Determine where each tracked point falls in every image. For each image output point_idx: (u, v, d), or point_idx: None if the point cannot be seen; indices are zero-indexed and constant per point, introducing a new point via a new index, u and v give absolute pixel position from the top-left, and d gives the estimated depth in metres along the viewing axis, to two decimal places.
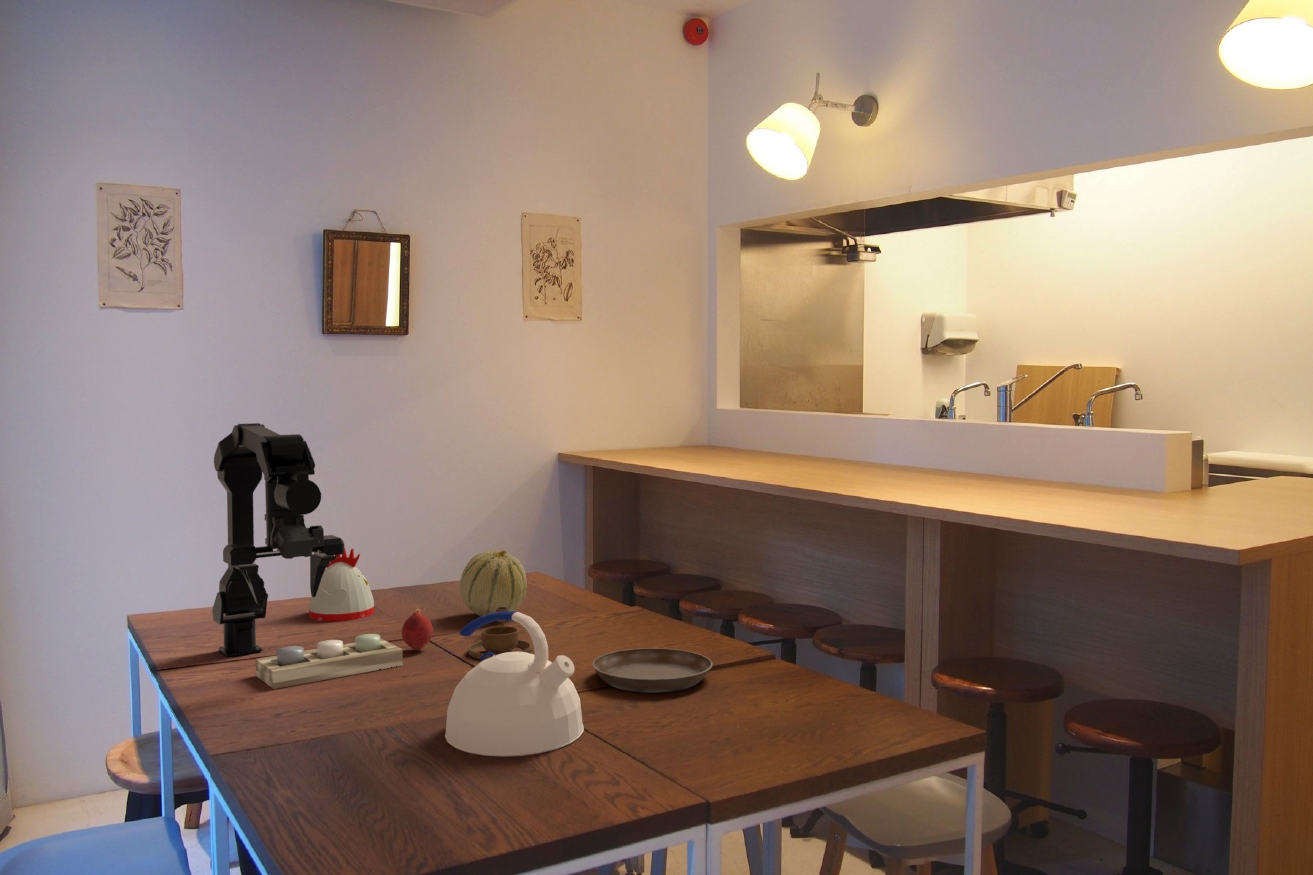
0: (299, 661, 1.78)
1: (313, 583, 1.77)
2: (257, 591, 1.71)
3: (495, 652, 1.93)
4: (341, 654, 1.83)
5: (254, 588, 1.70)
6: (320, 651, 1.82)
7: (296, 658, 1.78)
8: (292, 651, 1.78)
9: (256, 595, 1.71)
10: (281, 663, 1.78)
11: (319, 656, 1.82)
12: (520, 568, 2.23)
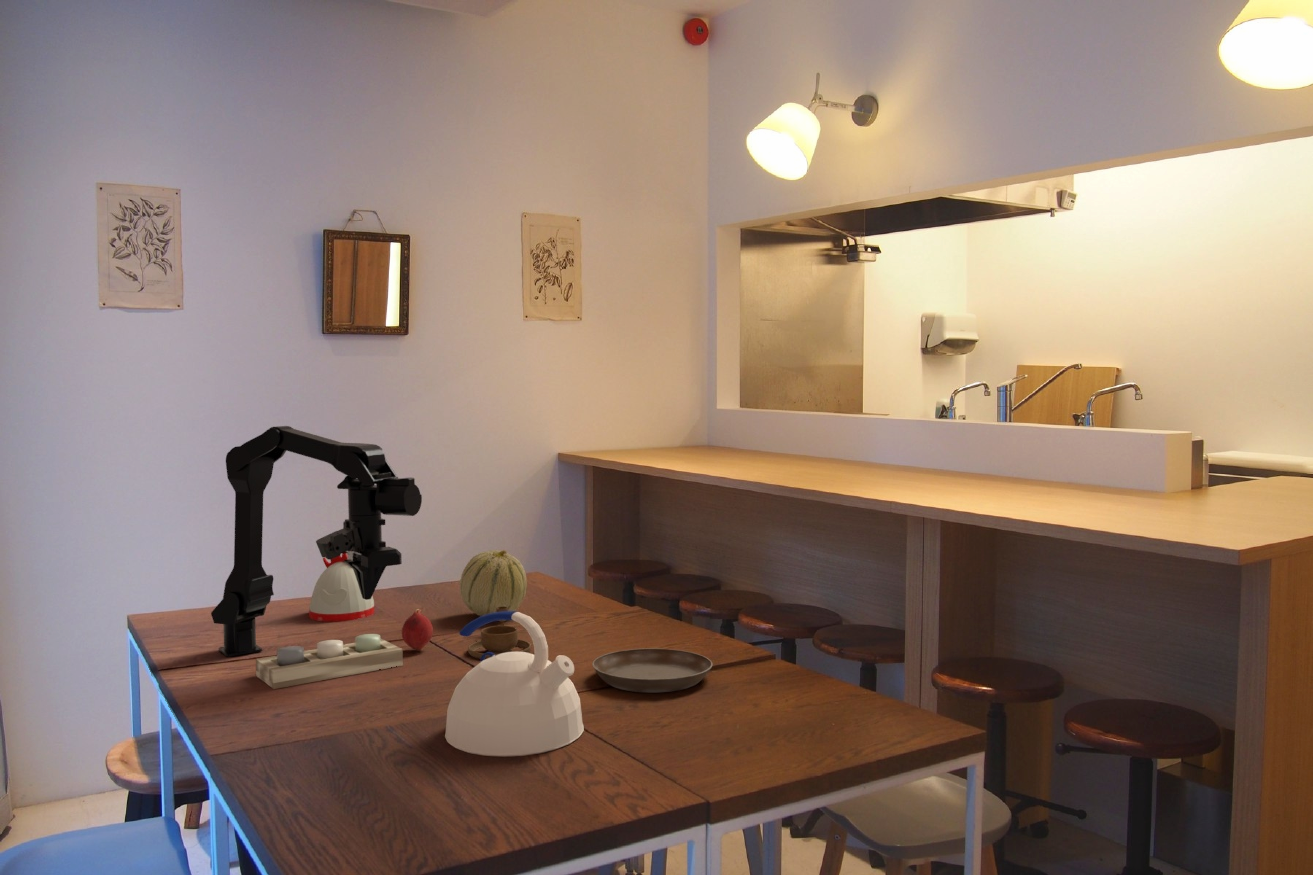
0: (299, 661, 1.78)
1: None
2: (359, 586, 1.87)
3: (494, 651, 1.94)
4: (341, 654, 1.83)
5: (358, 583, 1.88)
6: (320, 651, 1.82)
7: (296, 658, 1.78)
8: (292, 651, 1.78)
9: (360, 589, 1.88)
10: (281, 663, 1.78)
11: (319, 656, 1.82)
12: (520, 568, 2.23)
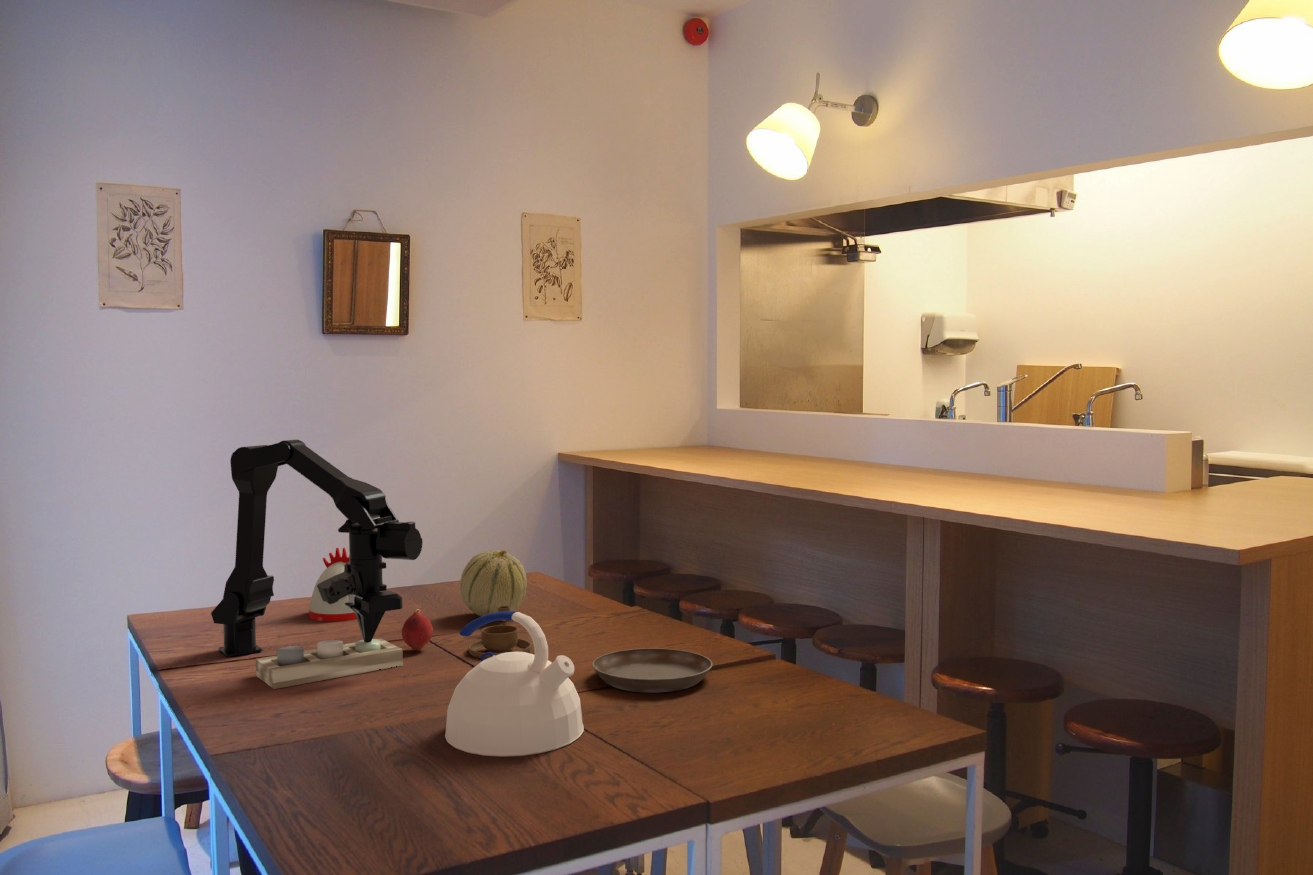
0: (299, 661, 1.78)
1: None
2: (361, 629, 1.88)
3: (495, 651, 1.94)
4: (341, 654, 1.83)
5: (359, 626, 1.88)
6: (320, 651, 1.82)
7: (296, 658, 1.78)
8: (292, 651, 1.78)
9: None
10: (281, 663, 1.78)
11: (319, 656, 1.82)
12: (520, 568, 2.23)
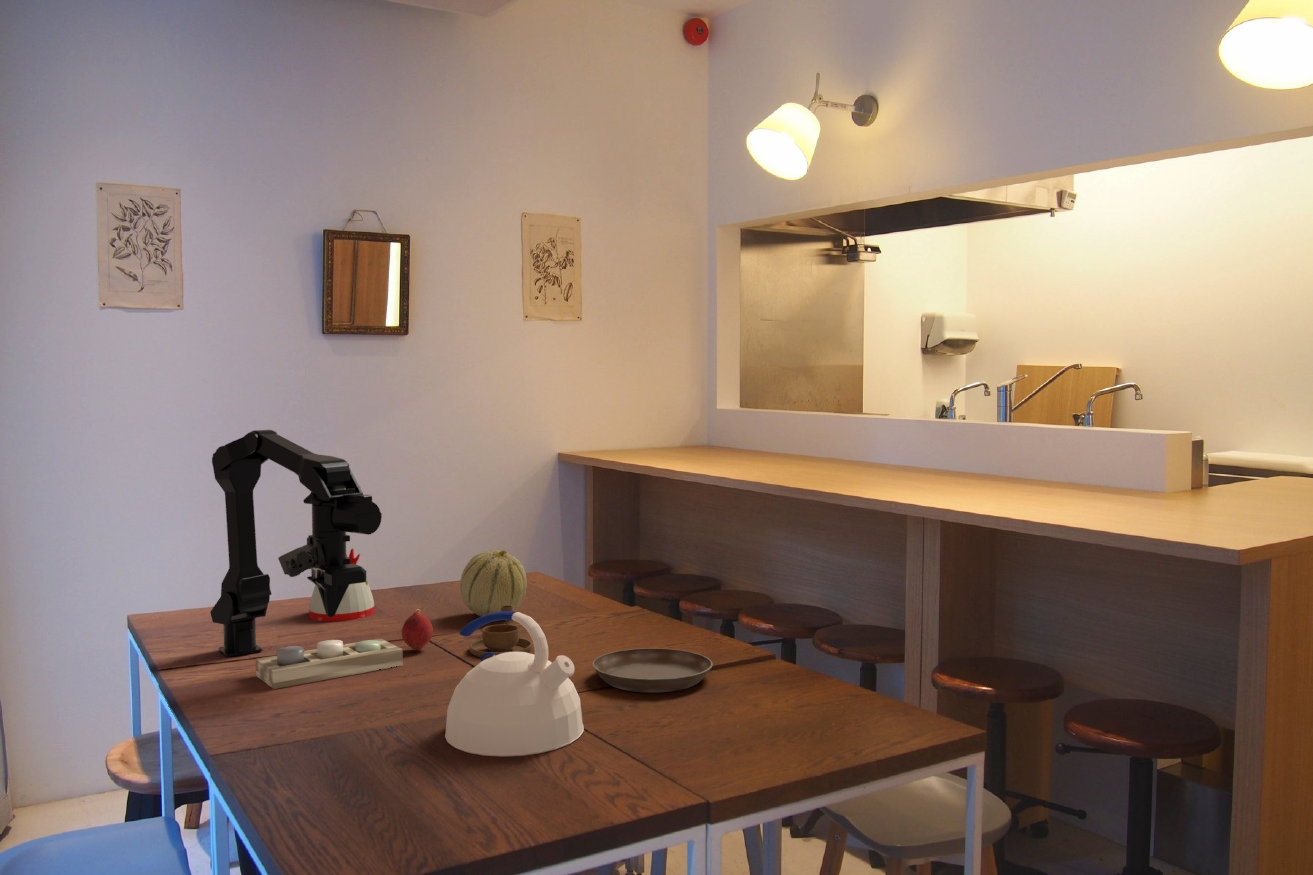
0: (299, 661, 1.78)
1: None
2: (324, 604, 1.83)
3: (495, 650, 1.95)
4: (341, 654, 1.83)
5: (322, 600, 1.84)
6: (320, 651, 1.82)
7: (296, 658, 1.78)
8: (292, 651, 1.78)
9: (324, 607, 1.84)
10: (281, 663, 1.78)
11: (319, 656, 1.82)
12: (520, 568, 2.23)
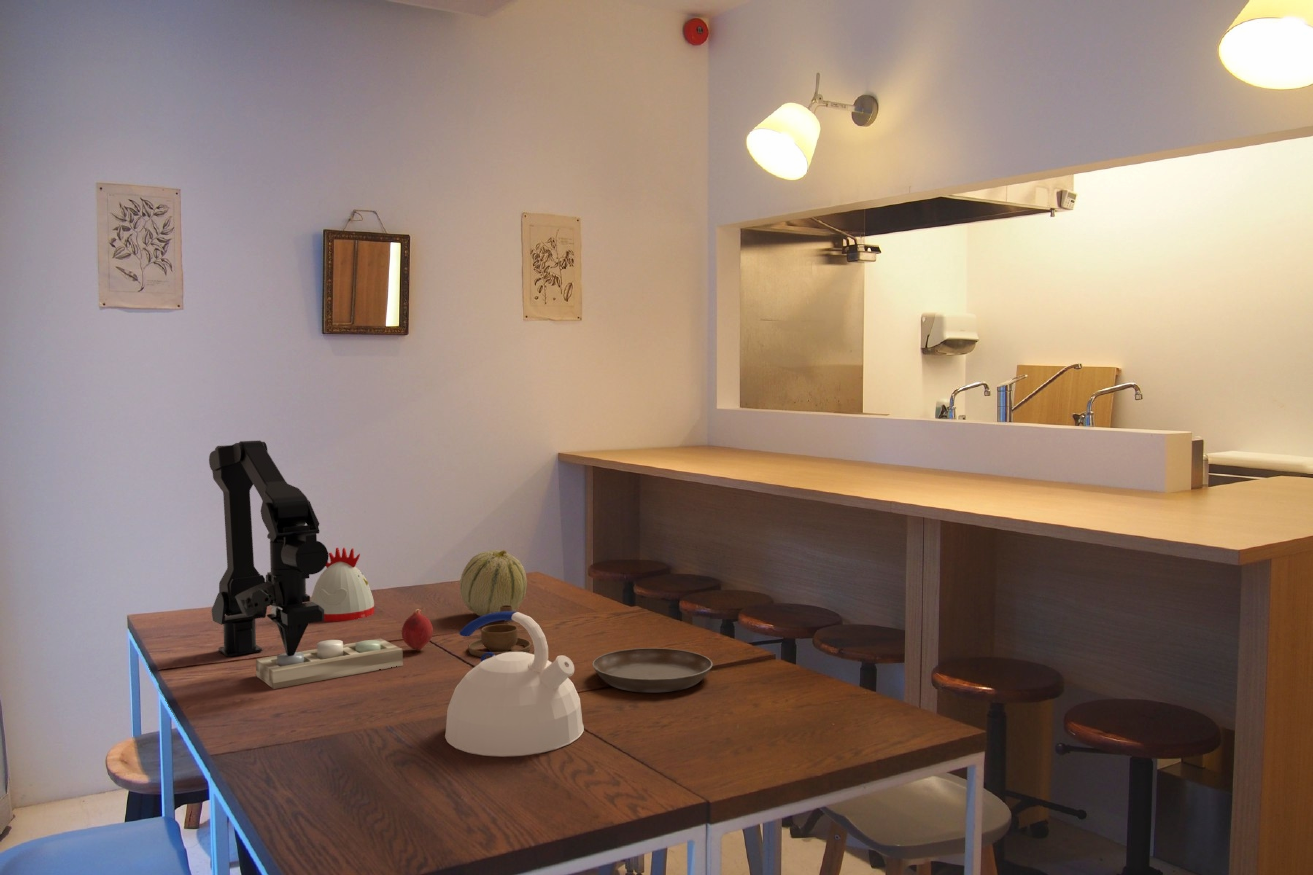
0: None
1: None
2: (283, 642, 1.79)
3: (494, 650, 1.95)
4: (341, 654, 1.83)
5: None
6: (320, 651, 1.82)
7: None
8: (292, 657, 1.78)
9: (284, 646, 1.79)
10: None
11: (319, 656, 1.82)
12: (520, 568, 2.23)
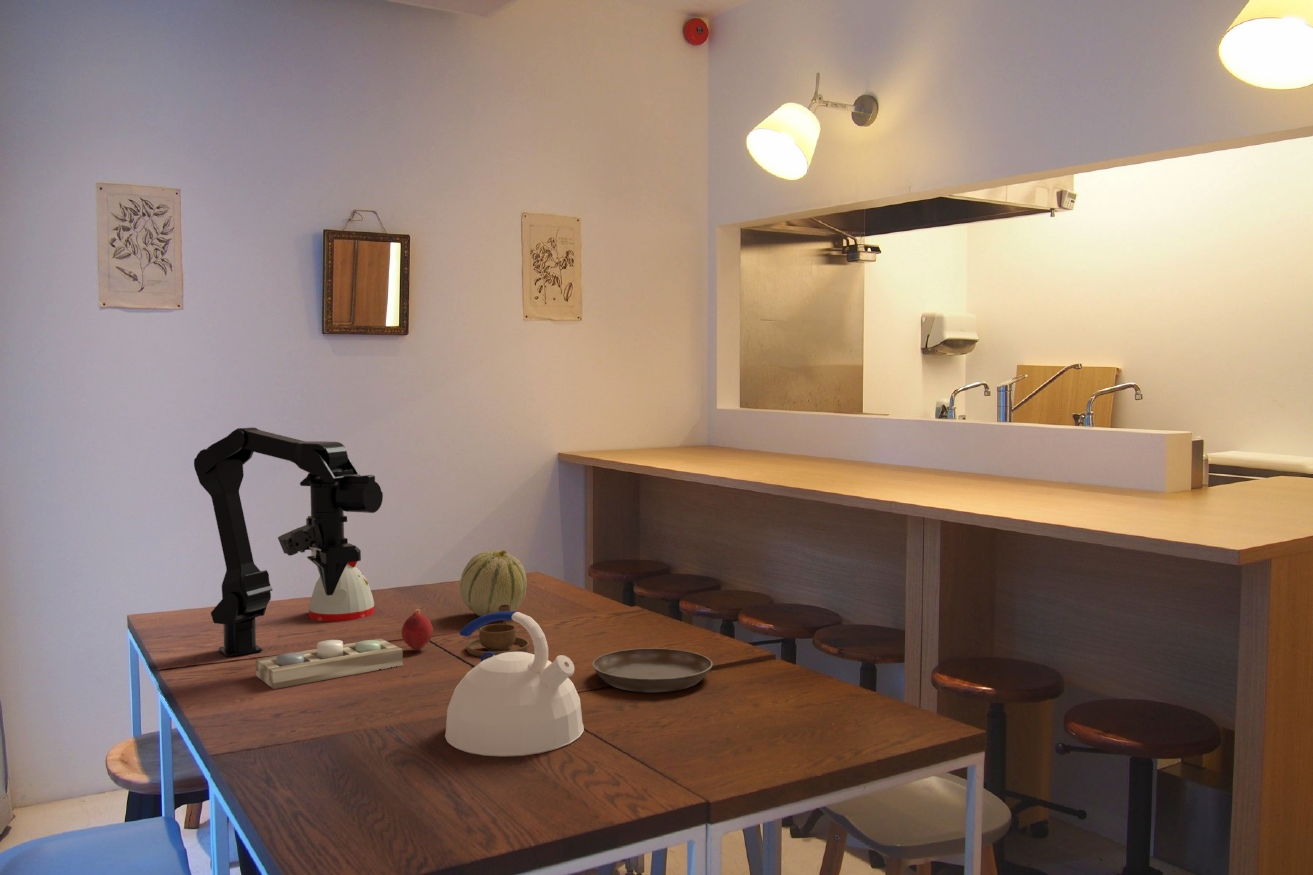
0: None
1: None
2: (322, 582, 1.89)
3: (492, 649, 1.95)
4: (341, 654, 1.83)
5: (321, 579, 1.89)
6: (320, 651, 1.82)
7: None
8: (292, 658, 1.78)
9: (323, 586, 1.89)
10: None
11: (319, 656, 1.82)
12: (520, 568, 2.23)
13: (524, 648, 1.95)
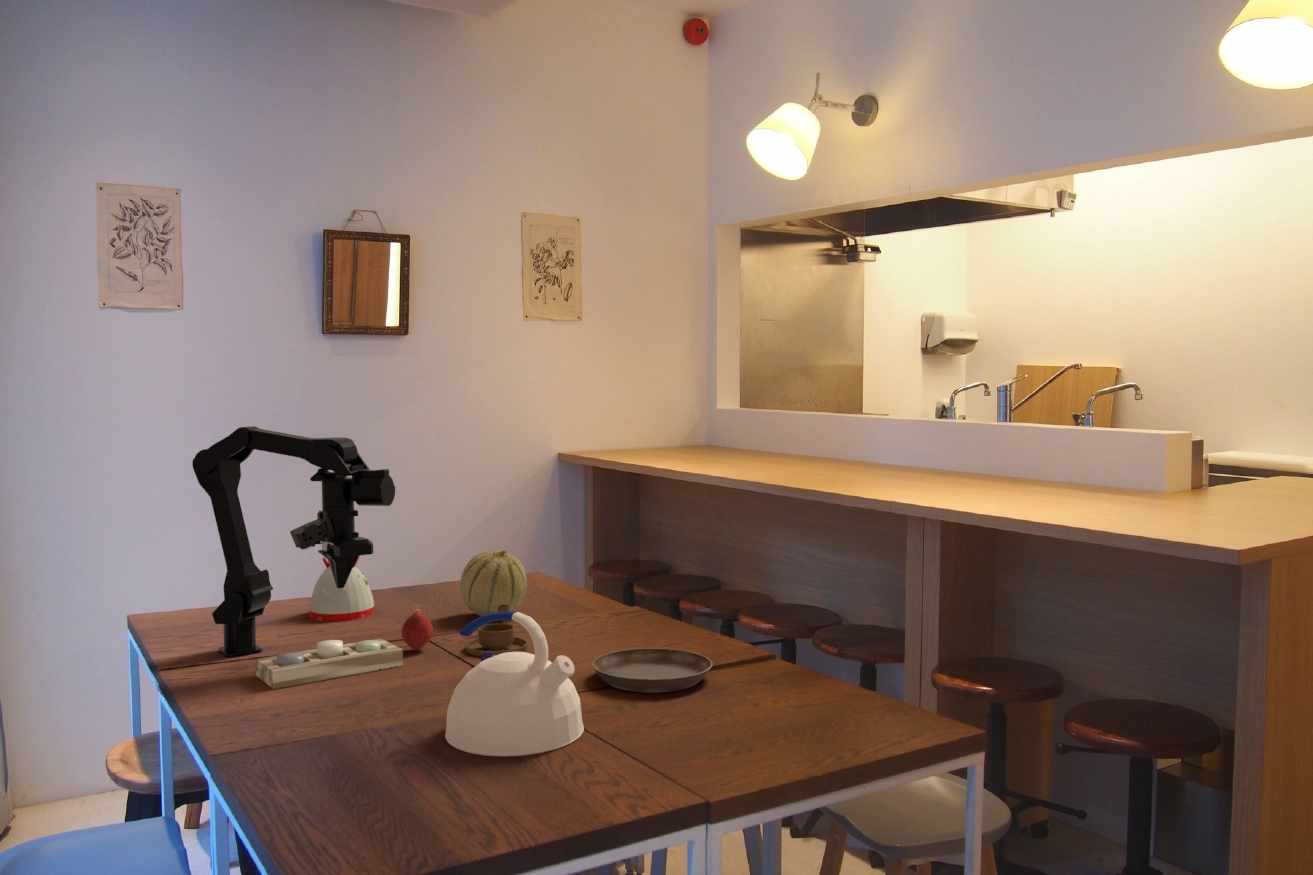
0: None
1: None
2: (333, 576, 1.92)
3: (491, 649, 1.96)
4: (341, 654, 1.83)
5: (332, 572, 1.93)
6: (320, 651, 1.82)
7: None
8: (292, 658, 1.78)
9: (334, 579, 1.92)
10: None
11: (319, 656, 1.82)
12: (520, 568, 2.23)
13: (523, 647, 1.96)
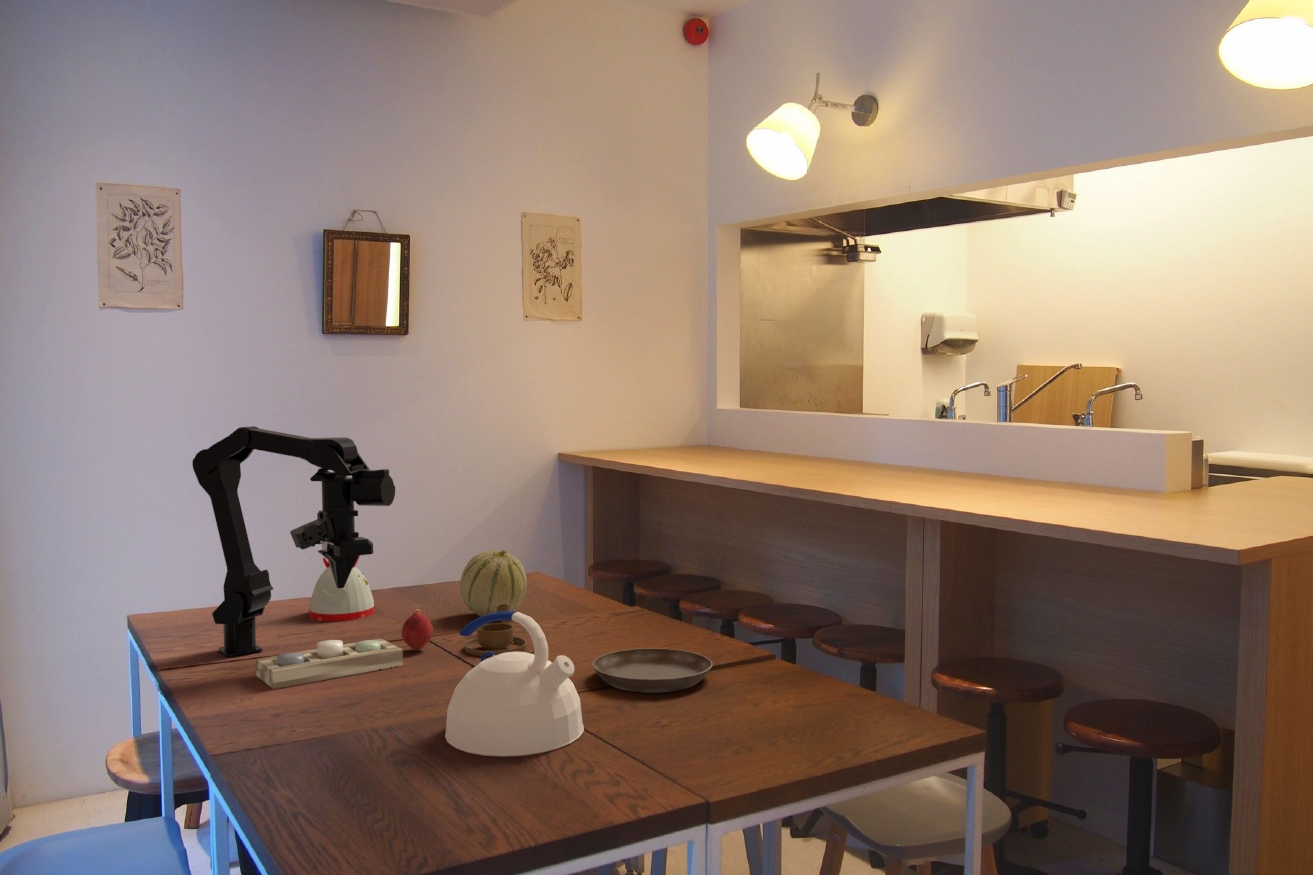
0: None
1: None
2: (333, 576, 1.92)
3: (490, 648, 1.96)
4: (341, 654, 1.83)
5: (332, 572, 1.93)
6: (320, 651, 1.82)
7: None
8: (292, 658, 1.78)
9: (334, 579, 1.92)
10: None
11: (319, 656, 1.82)
12: (520, 568, 2.23)
13: (522, 647, 1.96)
